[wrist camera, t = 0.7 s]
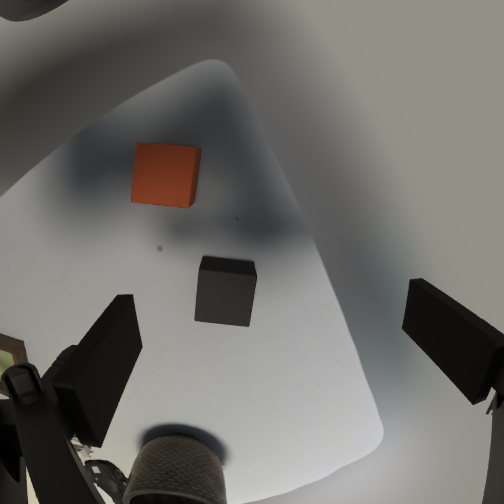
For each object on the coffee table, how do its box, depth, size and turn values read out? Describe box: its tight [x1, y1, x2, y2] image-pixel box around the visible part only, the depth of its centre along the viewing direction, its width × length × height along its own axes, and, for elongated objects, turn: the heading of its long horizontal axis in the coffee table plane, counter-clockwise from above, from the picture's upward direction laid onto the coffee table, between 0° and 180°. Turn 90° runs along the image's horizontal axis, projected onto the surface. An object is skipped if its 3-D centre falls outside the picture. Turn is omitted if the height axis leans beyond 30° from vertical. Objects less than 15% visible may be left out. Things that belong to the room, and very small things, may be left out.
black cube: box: [195, 256, 257, 327], centre depth 32 cm, size 6×6×4 cm
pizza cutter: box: [71, 438, 91, 460], centre depth 39 cm, size 20×6×3 cm, turn 93°
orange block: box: [131, 142, 201, 208], centre depth 29 cm, size 6×6×4 cm
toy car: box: [84, 460, 128, 504], centre depth 42 cm, size 7×15×4 cm, turn 19°
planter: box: [123, 434, 227, 504], centre depth 35 cm, size 14×14×13 cm
